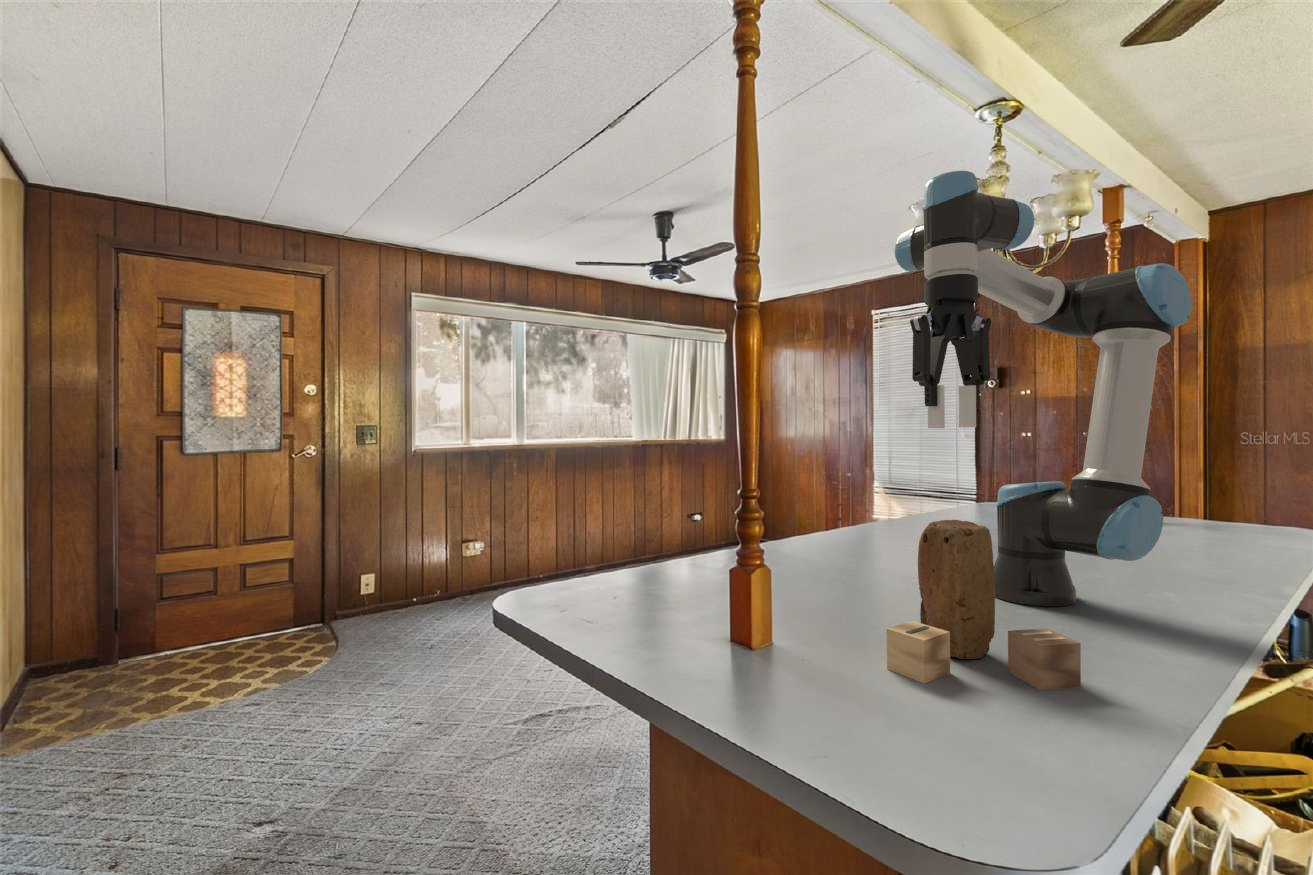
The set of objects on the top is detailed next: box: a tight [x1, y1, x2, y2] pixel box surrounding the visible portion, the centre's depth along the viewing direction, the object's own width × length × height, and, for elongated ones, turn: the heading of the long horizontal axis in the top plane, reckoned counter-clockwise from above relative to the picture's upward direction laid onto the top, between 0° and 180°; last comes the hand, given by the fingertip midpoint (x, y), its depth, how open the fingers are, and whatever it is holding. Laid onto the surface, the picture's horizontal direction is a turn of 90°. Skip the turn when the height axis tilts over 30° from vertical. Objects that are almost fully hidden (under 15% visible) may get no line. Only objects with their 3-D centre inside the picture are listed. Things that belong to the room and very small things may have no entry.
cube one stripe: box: [886, 620, 951, 684], centre depth 88 cm, size 6×6×6 cm
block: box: [917, 519, 996, 660], centre depth 96 cm, size 11×8×20 cm
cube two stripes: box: [1007, 627, 1082, 691], centre depth 84 cm, size 6×6×6 cm
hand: (951, 427), depth 95 cm, fingers open, 5 cm apart
